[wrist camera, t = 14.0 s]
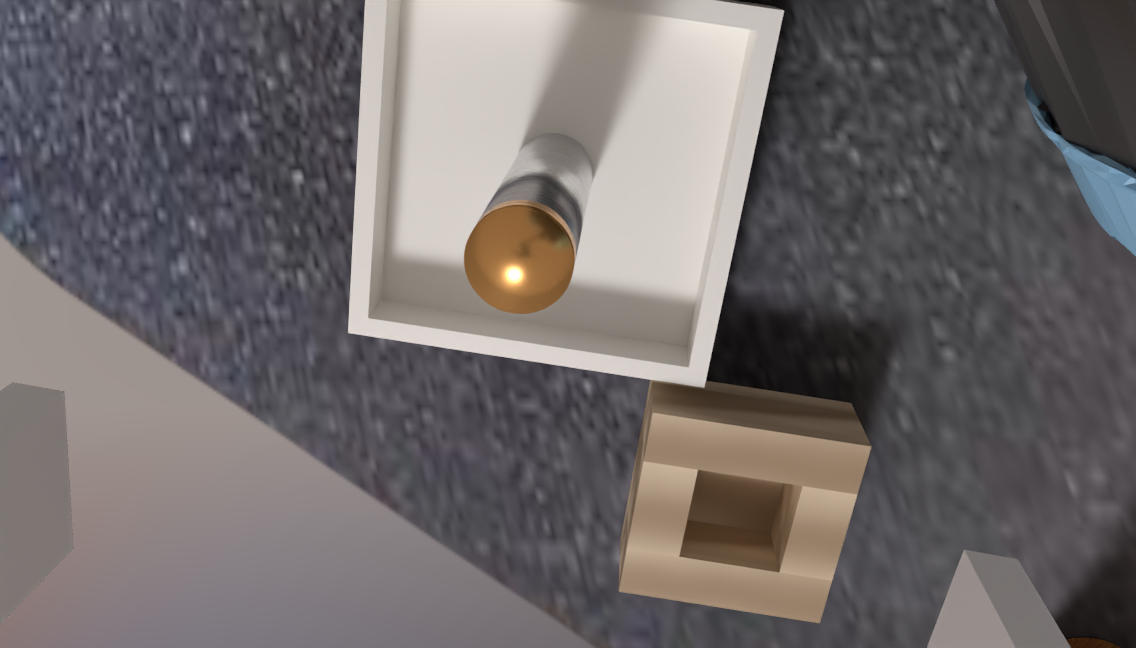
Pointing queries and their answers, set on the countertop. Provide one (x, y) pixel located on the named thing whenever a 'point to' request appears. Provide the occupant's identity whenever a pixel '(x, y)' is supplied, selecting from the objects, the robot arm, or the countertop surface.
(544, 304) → the pin
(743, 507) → the socket block
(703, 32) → the rectangular frame
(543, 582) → the countertop surface
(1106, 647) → the disposable coffee cup
